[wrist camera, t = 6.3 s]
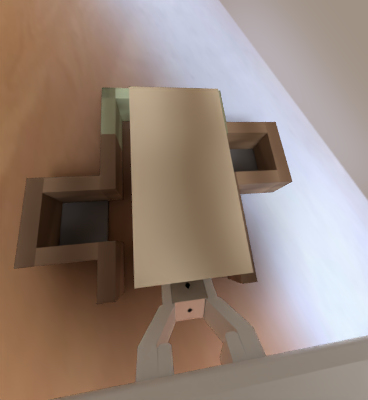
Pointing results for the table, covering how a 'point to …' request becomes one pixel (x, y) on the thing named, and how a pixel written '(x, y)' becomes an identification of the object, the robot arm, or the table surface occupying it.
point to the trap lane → (113, 190)
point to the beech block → (183, 189)
